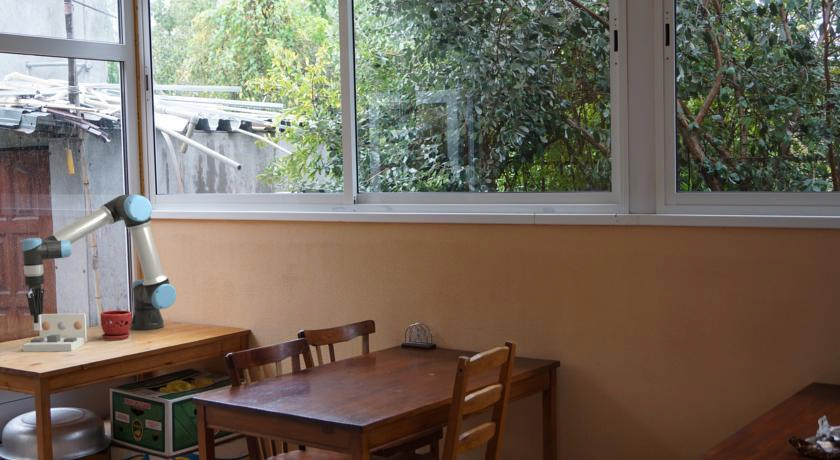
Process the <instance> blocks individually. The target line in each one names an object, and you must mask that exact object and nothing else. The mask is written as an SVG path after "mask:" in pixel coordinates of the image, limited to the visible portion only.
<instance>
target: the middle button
mask: <svg viewBox="0 0 840 460" xmlns="http://www.w3.org/2000/svg"><path fill="white" fill-rule="evenodd" d="M58 341H60V334H55V335H49V336H47V342H58Z"/></svg>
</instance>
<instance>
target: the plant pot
mask: <svg viewBox="0 0 840 460" xmlns="http://www.w3.org/2000/svg"><path fill="white" fill-rule="evenodd" d="M132 317H133V315H132V311H130V310H121V309H120V310H119V309H118V310H107V311H102V312H101V313H100V326H101V329H102V332H103V334H102V335H101V336H102V339H105V340H106V341H120V340H125V339H127V338H129V336H130V335H131V334H130V333H129V331H130V329H131V321H132Z"/></svg>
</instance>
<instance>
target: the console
mask: <svg viewBox="0 0 840 460" xmlns="http://www.w3.org/2000/svg"><path fill="white" fill-rule="evenodd" d="M64 339H65V338H60V341H58V342H47V338H44V341H43V342H36V343H31V341H29V342H27V343H24V344H23V345H22V348H23V353H31V352H32V353H34V352H36V353H37V352H39V353H41V352H42V353H43V352H73V351H74V350H77V349H78V348H80V347H82V346H84V344H85V341H84V338H77V340H76V341H74V342H64Z"/></svg>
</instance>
